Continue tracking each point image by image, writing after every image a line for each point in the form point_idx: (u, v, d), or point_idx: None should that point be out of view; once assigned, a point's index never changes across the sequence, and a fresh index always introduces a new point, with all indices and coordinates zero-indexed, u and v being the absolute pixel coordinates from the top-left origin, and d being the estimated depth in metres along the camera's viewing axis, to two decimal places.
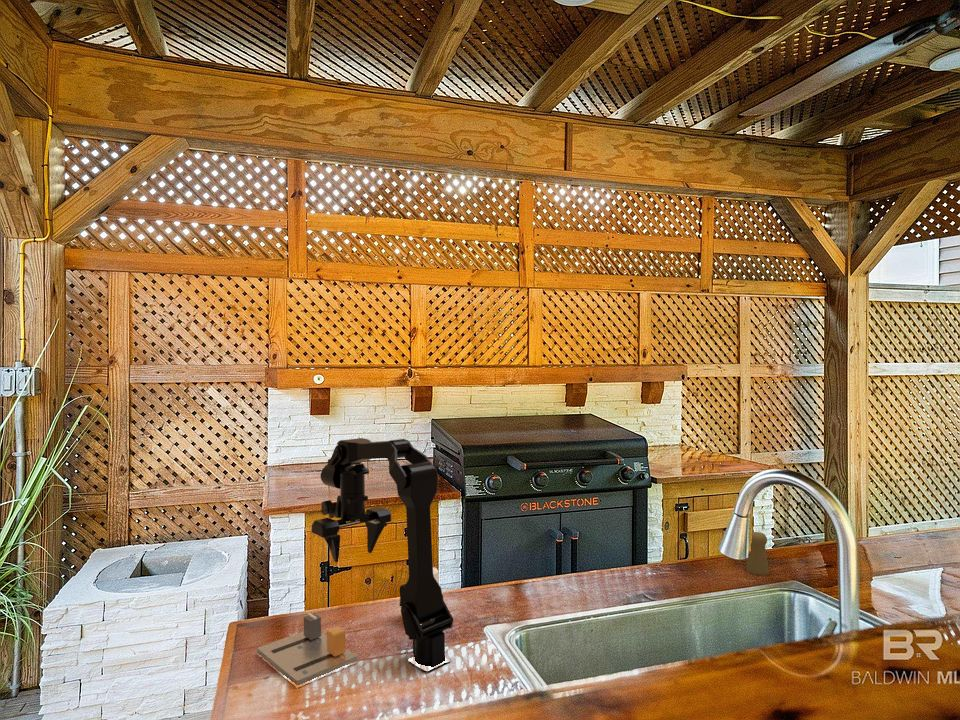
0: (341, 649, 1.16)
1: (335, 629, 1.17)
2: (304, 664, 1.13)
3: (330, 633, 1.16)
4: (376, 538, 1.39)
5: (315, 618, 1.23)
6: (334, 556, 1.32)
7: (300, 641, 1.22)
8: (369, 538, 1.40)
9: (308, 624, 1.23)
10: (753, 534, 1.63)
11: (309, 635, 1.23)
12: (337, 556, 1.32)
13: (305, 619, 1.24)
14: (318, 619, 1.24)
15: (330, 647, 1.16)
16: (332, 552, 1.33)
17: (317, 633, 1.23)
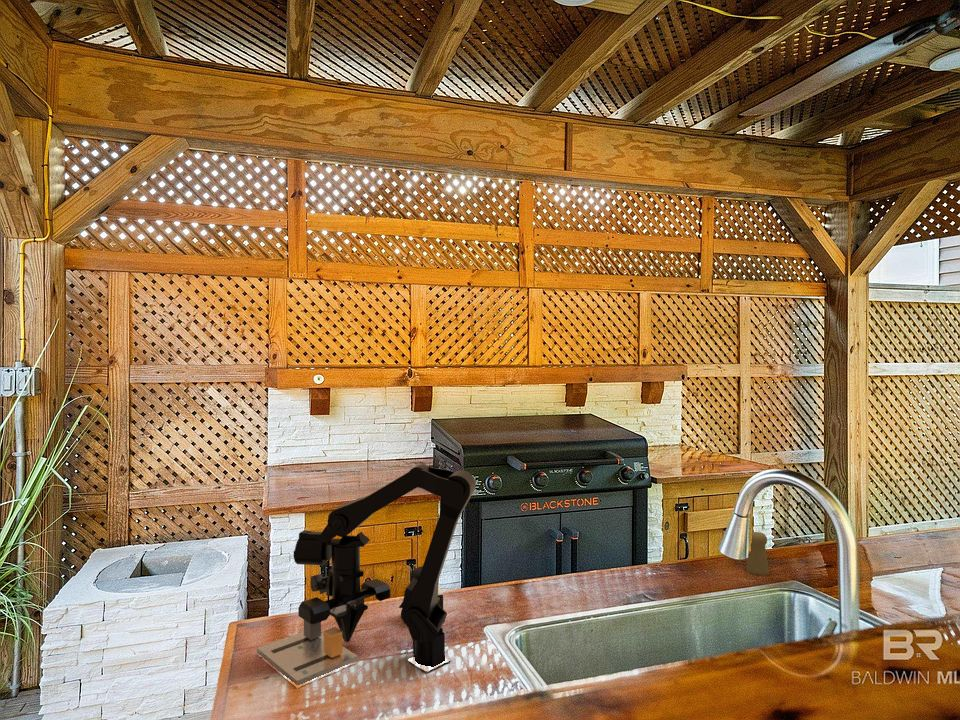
0: (338, 650, 1.16)
1: (332, 630, 1.17)
2: (304, 664, 1.13)
3: (327, 635, 1.16)
4: (355, 624, 1.18)
5: None
6: (344, 635, 1.18)
7: (300, 641, 1.22)
8: None
9: (308, 624, 1.23)
10: (753, 534, 1.63)
11: (309, 635, 1.23)
12: (347, 636, 1.18)
13: None
14: None
15: (327, 648, 1.16)
16: None
17: (317, 633, 1.23)
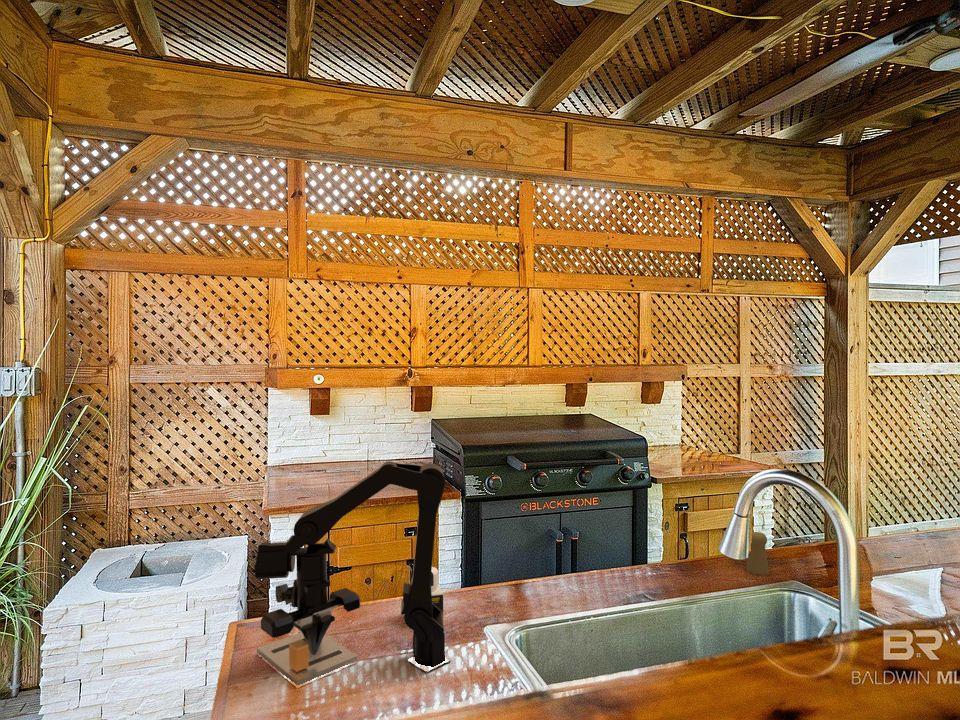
0: (304, 664, 1.10)
1: (298, 643, 1.12)
2: None
3: (292, 647, 1.11)
4: (321, 637, 1.13)
5: None
6: (310, 647, 1.13)
7: None
8: None
9: None
10: (753, 534, 1.63)
11: None
12: (314, 648, 1.12)
13: None
14: None
15: (292, 661, 1.10)
16: (308, 643, 1.13)
17: None
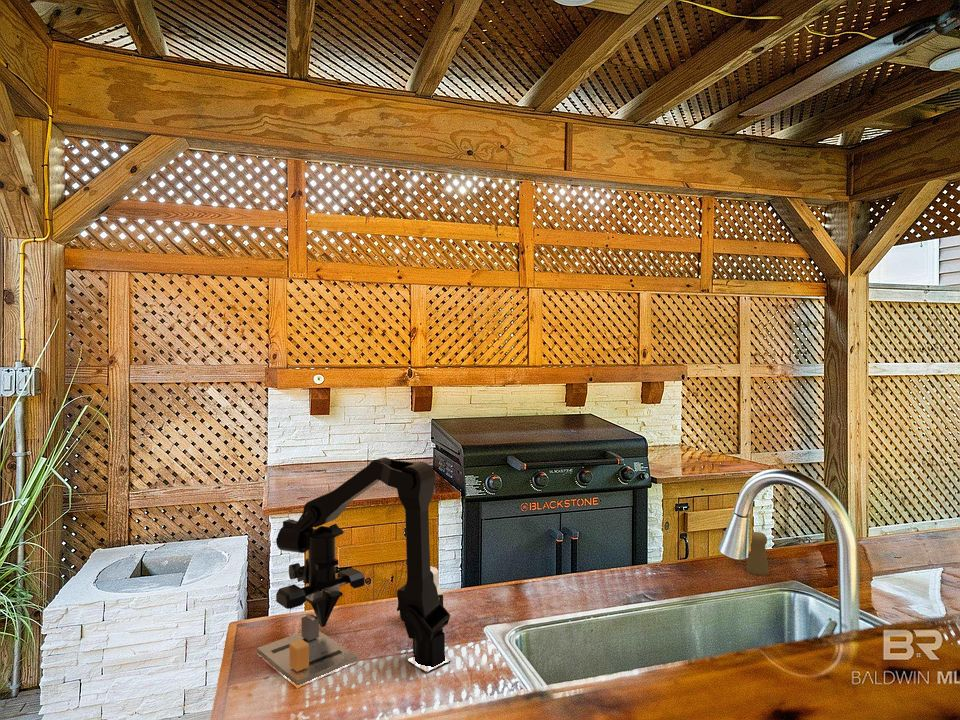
0: (304, 664, 1.11)
1: (298, 643, 1.12)
2: None
3: (292, 647, 1.11)
4: (330, 610, 1.25)
5: (313, 619, 1.23)
6: (319, 620, 1.25)
7: None
8: None
9: (305, 625, 1.23)
10: (753, 534, 1.63)
11: (307, 636, 1.22)
12: (323, 621, 1.25)
13: (303, 620, 1.23)
14: (316, 620, 1.23)
15: (293, 661, 1.11)
16: (317, 616, 1.25)
17: (315, 634, 1.23)
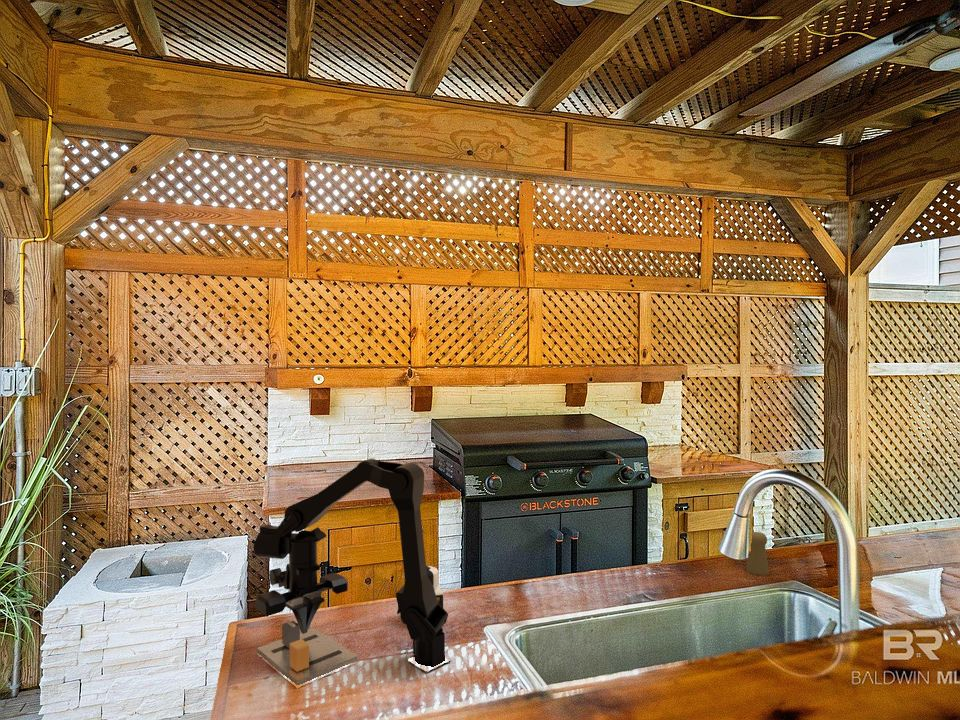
0: (304, 664, 1.11)
1: (298, 643, 1.12)
2: None
3: (292, 647, 1.11)
4: (311, 616, 1.22)
5: (293, 625, 1.20)
6: (301, 627, 1.22)
7: None
8: None
9: (286, 631, 1.19)
10: (753, 534, 1.63)
11: (287, 643, 1.19)
12: (304, 627, 1.22)
13: (283, 626, 1.20)
14: (297, 626, 1.20)
15: (293, 661, 1.11)
16: (299, 623, 1.22)
17: None
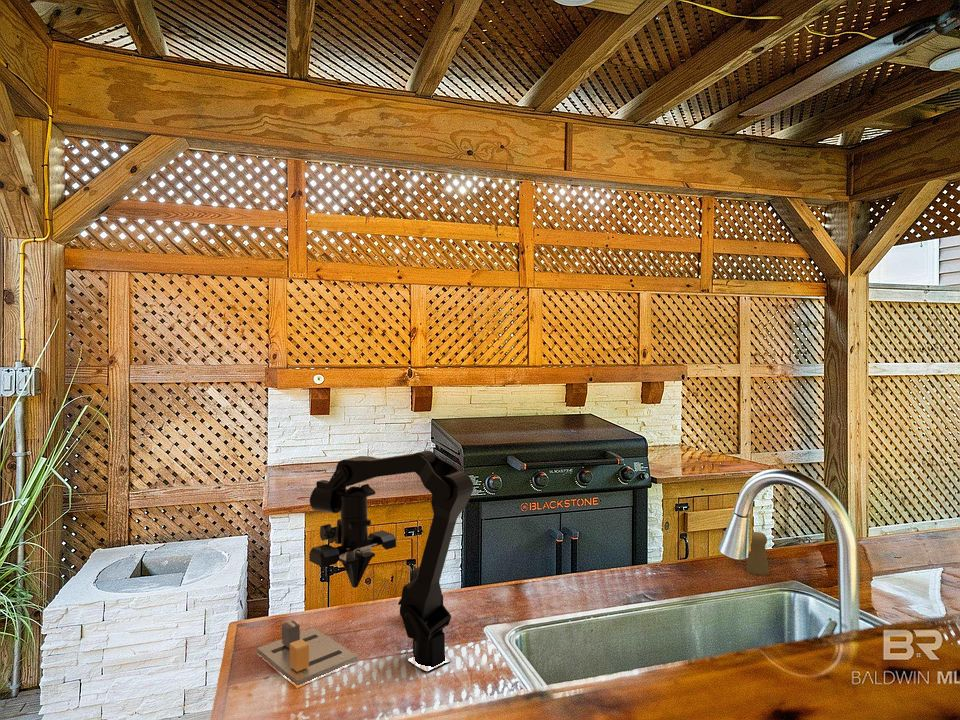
0: (304, 664, 1.11)
1: (298, 643, 1.12)
2: None
3: (292, 647, 1.11)
4: (363, 570, 1.24)
5: (293, 625, 1.20)
6: (352, 580, 1.24)
7: None
8: None
9: (286, 631, 1.19)
10: (753, 534, 1.63)
11: (287, 643, 1.19)
12: (355, 581, 1.24)
13: (283, 626, 1.20)
14: (297, 626, 1.20)
15: (293, 661, 1.11)
16: (350, 577, 1.24)
17: None
